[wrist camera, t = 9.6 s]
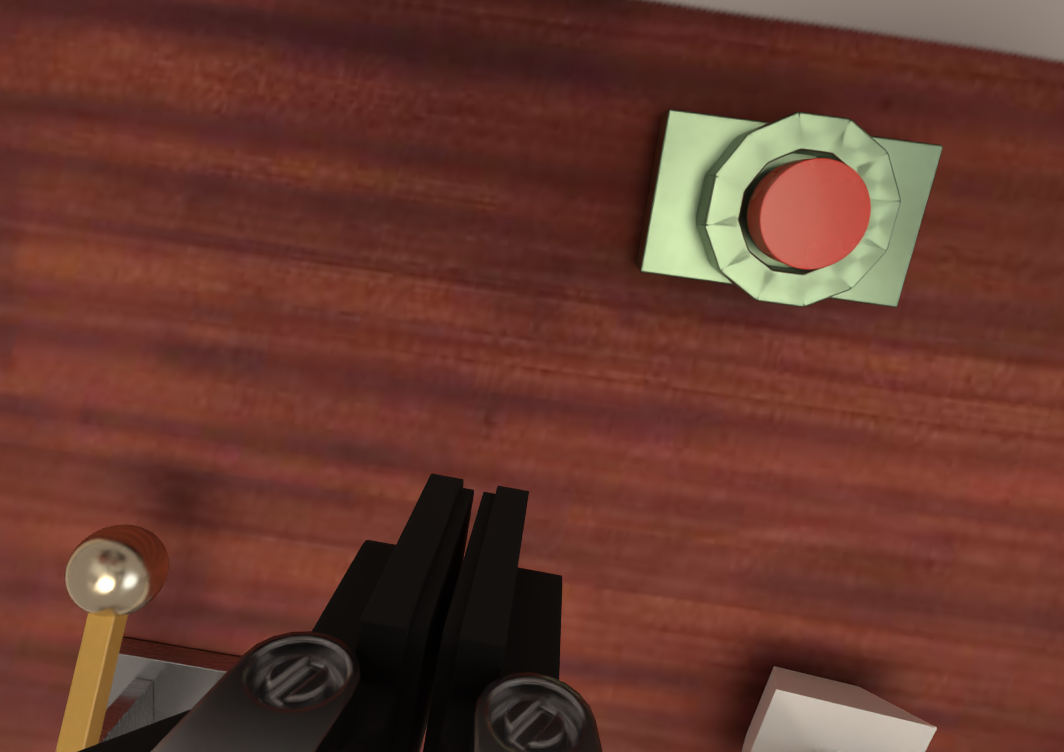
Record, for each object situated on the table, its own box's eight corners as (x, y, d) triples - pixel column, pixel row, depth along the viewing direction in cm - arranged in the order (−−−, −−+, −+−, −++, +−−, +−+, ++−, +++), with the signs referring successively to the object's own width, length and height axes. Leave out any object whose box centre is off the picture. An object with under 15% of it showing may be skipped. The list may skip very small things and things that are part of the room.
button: (736, 256, 25) (748, 261, 23) (759, 153, 24) (773, 150, 22) (836, 270, 24) (855, 276, 23) (862, 166, 23) (884, 165, 22)
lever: (113, 514, 29) (55, 521, 26) (194, 528, 29) (147, 536, 26) (18, 917, 27) (-60, 985, 24) (104, 932, 27) (40, 1003, 24)
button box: (634, 271, 28) (643, 285, 25) (662, 107, 27) (677, 95, 23) (871, 304, 28) (918, 323, 24) (917, 141, 26) (974, 134, 23)
